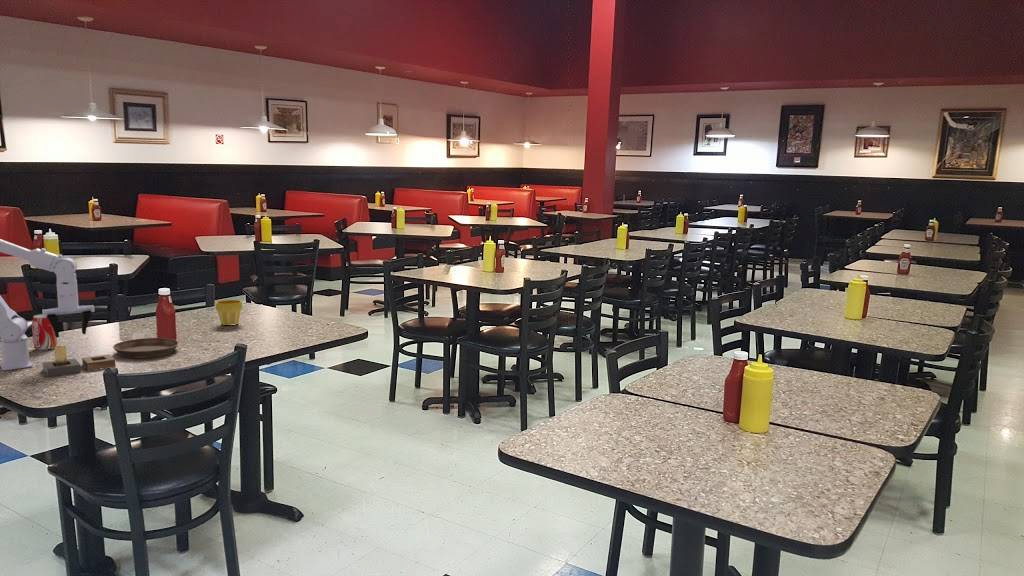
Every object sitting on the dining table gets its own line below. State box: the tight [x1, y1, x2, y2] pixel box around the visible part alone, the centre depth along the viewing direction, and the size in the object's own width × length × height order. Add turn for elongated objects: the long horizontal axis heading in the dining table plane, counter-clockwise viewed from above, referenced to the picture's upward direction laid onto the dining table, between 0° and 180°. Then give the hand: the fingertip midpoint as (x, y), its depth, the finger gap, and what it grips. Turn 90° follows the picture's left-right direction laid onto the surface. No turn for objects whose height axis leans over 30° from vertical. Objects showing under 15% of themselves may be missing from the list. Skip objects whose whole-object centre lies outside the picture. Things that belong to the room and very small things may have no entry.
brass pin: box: [54, 345, 68, 366], centre depth 230 cm, size 3×3×8 cm
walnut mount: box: [81, 353, 117, 371], centre depth 237 cm, size 8×8×2 cm
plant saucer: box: [112, 337, 179, 359], centre depth 256 cm, size 21×21×3 cm
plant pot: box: [214, 299, 243, 325], centre depth 301 cm, size 10×10×10 cm
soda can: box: [31, 314, 58, 351], centre depth 255 cm, size 7×7×12 cm
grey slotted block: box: [42, 357, 82, 378], centre depth 230 cm, size 9×9×2 cm
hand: (70, 335), depth 239 cm, fingers open, 7 cm apart
